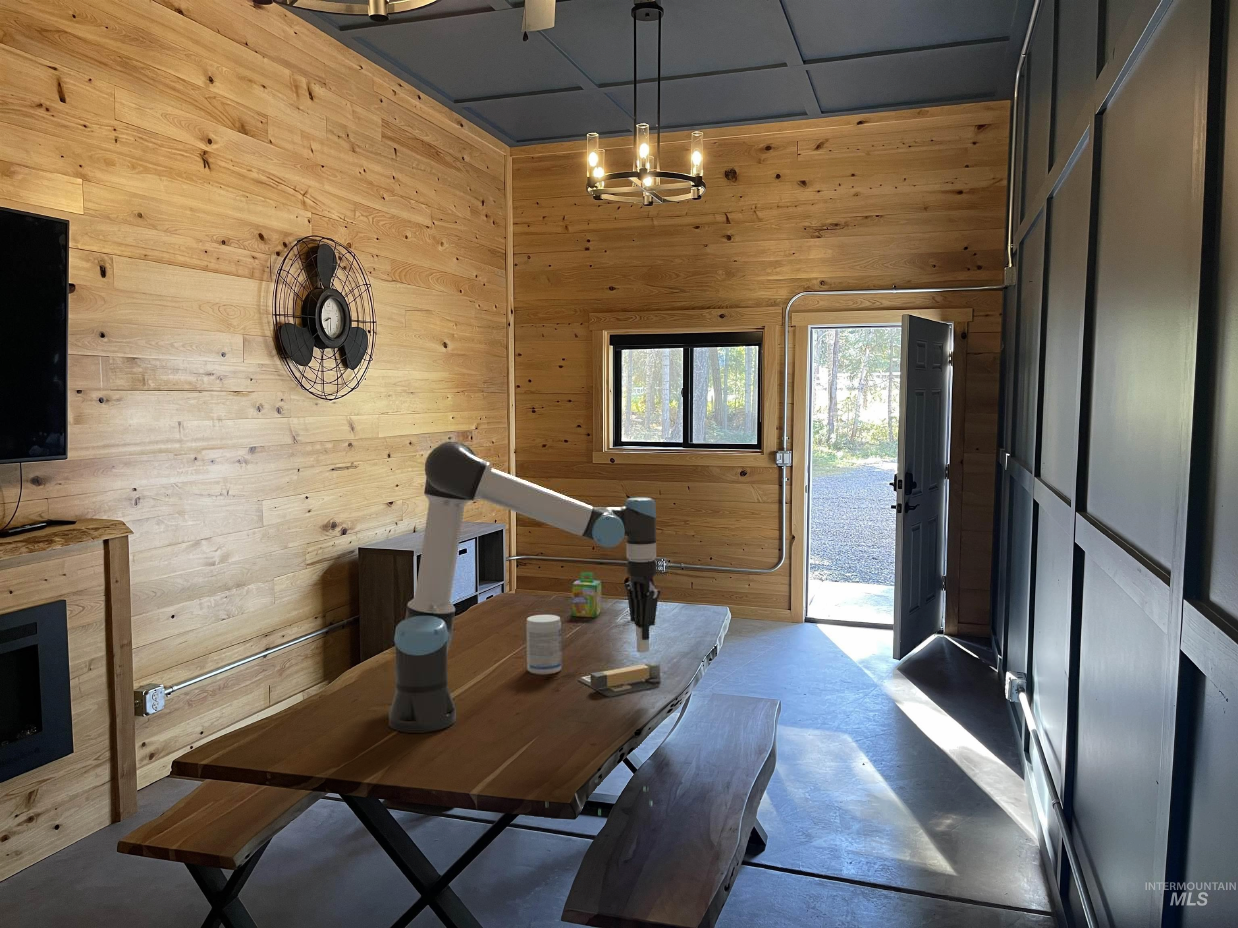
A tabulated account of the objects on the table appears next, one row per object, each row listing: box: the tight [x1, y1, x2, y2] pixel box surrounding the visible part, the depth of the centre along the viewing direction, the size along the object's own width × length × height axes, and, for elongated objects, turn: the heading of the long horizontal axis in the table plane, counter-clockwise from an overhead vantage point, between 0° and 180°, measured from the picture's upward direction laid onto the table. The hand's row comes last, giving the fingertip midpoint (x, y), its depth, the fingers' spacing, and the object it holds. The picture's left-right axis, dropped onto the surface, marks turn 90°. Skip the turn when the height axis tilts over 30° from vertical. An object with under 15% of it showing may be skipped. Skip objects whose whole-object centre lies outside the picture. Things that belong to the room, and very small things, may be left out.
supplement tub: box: [525, 614, 563, 676], centre depth 241 cm, size 10×10×15 cm
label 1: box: [580, 675, 591, 682], centre depth 232 cm, size 5×4×1 cm
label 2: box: [607, 683, 632, 691], centre depth 225 cm, size 5×4×1 cm
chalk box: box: [571, 571, 602, 618], centre depth 308 cm, size 9×9×15 cm
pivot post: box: [643, 675, 662, 685], centre depth 231 cm, size 4×4×1 cm
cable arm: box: [590, 661, 661, 689], centre depth 227 cm, size 20×4×3 cm, turn 122°
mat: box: [577, 678, 656, 698], centre depth 229 cm, size 14×16×1 cm
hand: (642, 651), depth 221 cm, fingers closed
